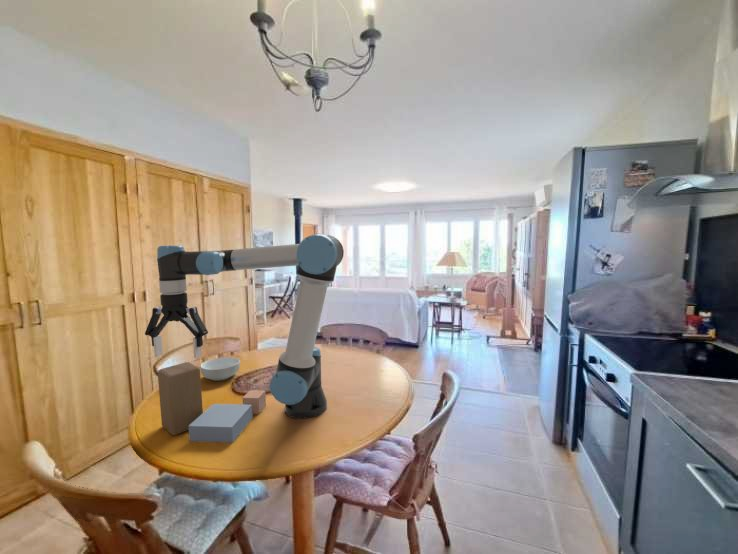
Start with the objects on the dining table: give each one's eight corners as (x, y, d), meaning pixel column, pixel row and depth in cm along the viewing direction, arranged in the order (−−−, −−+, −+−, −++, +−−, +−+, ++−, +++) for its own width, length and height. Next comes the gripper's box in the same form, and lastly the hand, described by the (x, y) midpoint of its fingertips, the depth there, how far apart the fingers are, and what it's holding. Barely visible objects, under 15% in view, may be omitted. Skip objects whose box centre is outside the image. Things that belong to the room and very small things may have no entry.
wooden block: (192, 414, 116) (188, 360, 114) (204, 423, 110) (201, 367, 108) (161, 426, 109) (156, 369, 107) (172, 437, 102) (167, 376, 100)
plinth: (252, 418, 113) (251, 404, 113) (232, 442, 99) (232, 427, 99) (214, 417, 114) (213, 403, 114) (189, 441, 100) (188, 425, 100)
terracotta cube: (266, 405, 122) (265, 390, 121) (259, 414, 116) (258, 398, 115) (250, 405, 122) (249, 390, 122) (243, 413, 117) (242, 397, 116)
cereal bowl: (244, 379, 147) (243, 364, 146) (204, 388, 137) (202, 372, 137) (236, 367, 161) (235, 353, 160) (198, 375, 151) (197, 361, 151)
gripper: (216, 291, 108) (220, 352, 110) (146, 291, 110) (151, 351, 112) (203, 294, 101) (207, 360, 103) (128, 294, 102) (133, 359, 104)
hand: (178, 356), depth 107 cm, fingers open, 13 cm apart
